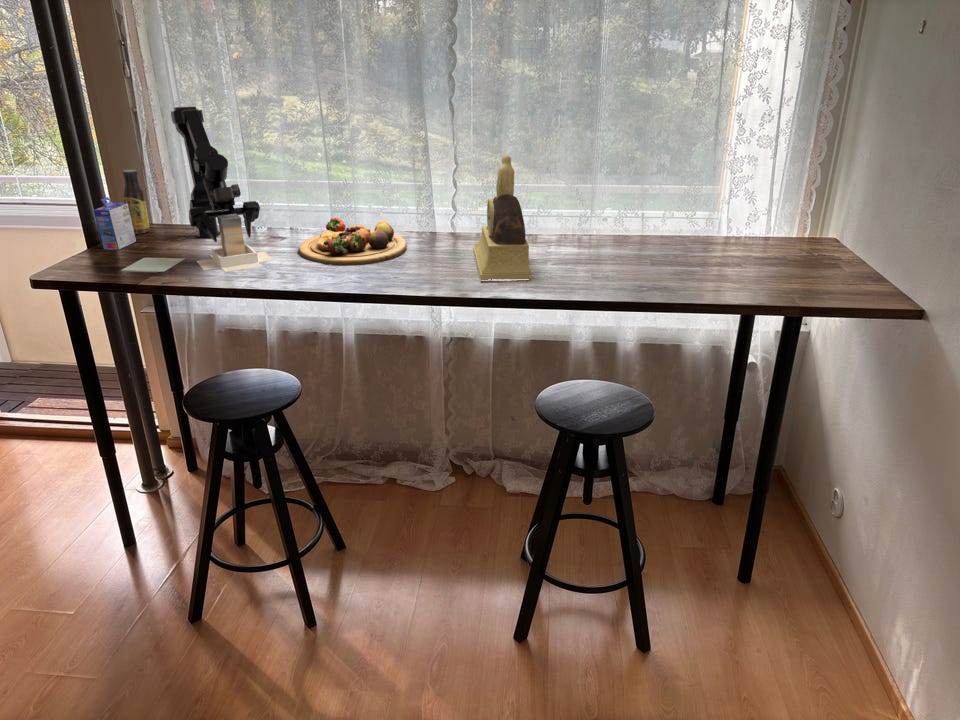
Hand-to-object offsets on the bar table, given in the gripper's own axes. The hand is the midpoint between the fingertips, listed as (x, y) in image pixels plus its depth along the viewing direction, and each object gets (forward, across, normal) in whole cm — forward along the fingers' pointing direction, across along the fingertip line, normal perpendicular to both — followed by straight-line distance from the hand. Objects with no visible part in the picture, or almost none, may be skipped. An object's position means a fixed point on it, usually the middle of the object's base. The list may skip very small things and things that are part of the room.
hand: (233, 239), depth 196 cm
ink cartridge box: (-21, -26, +31) cm, 46 cm away
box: (+4, 0, +6) cm, 7 cm away
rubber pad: (-2, -20, +11) cm, 23 cm away
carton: (+4, 0, +6) cm, 7 cm away
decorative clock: (+34, +62, -24) cm, 75 cm away
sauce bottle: (-31, -18, +41) cm, 54 cm away
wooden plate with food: (+8, +33, +2) cm, 34 cm away
